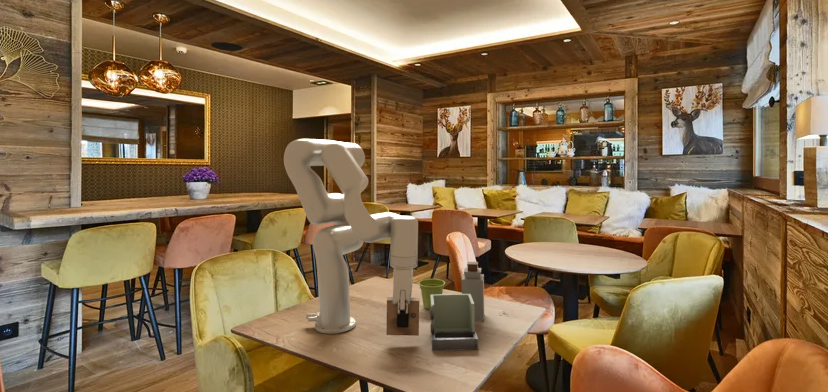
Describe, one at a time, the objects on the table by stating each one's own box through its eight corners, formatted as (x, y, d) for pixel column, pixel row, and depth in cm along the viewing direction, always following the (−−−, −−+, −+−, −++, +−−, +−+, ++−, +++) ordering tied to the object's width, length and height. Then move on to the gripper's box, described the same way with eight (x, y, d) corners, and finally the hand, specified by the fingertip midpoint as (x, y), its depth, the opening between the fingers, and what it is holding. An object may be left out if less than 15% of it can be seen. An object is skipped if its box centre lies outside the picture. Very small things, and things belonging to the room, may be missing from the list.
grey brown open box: (431, 350, 112) (430, 310, 111) (430, 341, 117) (429, 303, 116) (478, 349, 111) (477, 309, 111) (475, 340, 117) (475, 302, 116)
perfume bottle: (483, 322, 131) (482, 265, 129) (462, 320, 132) (461, 265, 131) (484, 314, 137) (483, 260, 136) (463, 313, 139) (463, 260, 137)
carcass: (432, 342, 116) (431, 304, 115) (431, 330, 125) (430, 294, 124) (475, 342, 116) (474, 303, 115) (470, 329, 125) (470, 293, 124)
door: (386, 336, 114) (386, 301, 113) (387, 331, 118) (387, 297, 117) (418, 337, 114) (419, 302, 113) (418, 331, 118) (419, 297, 117)
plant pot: (450, 304, 147) (449, 280, 146) (437, 313, 139) (436, 288, 139) (427, 300, 152) (427, 277, 151) (413, 308, 144) (413, 284, 144)
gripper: (392, 253, 122) (391, 313, 124) (388, 268, 106) (387, 337, 108) (417, 253, 122) (416, 313, 124) (417, 269, 106) (416, 337, 108)
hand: (402, 324), depth 116 cm, fingers closed on door, 2 cm apart
